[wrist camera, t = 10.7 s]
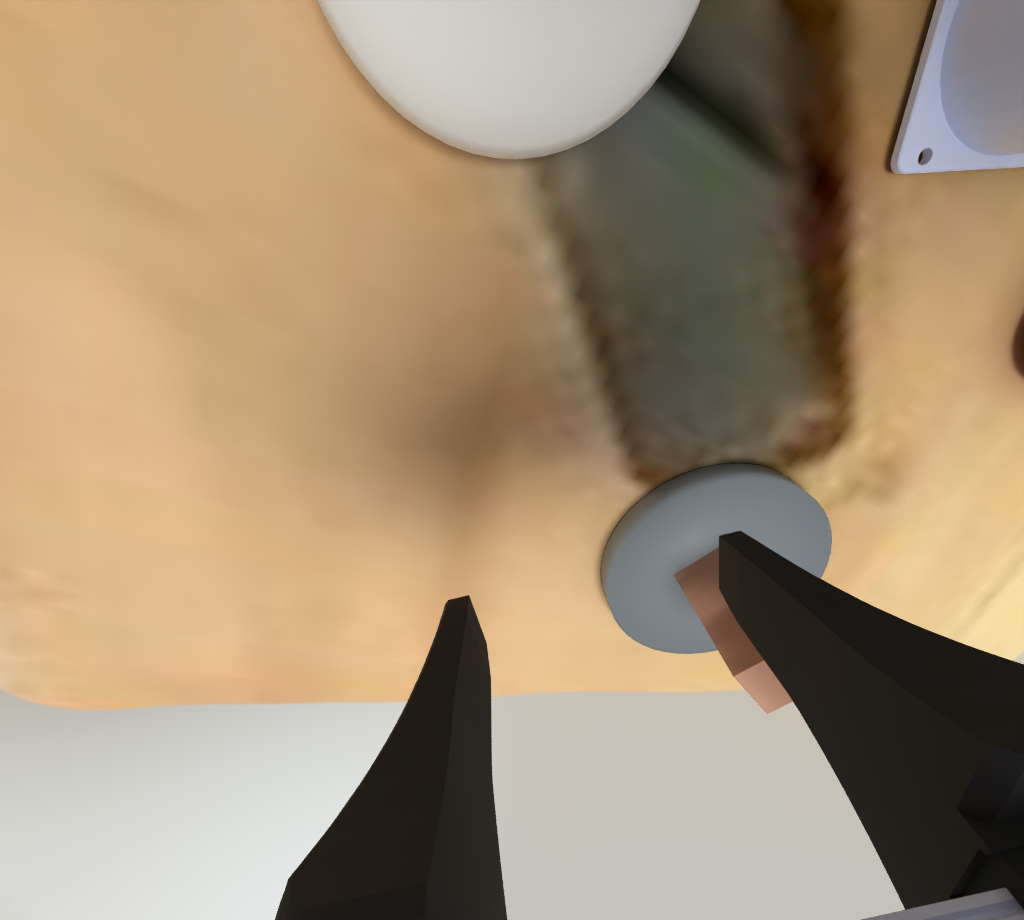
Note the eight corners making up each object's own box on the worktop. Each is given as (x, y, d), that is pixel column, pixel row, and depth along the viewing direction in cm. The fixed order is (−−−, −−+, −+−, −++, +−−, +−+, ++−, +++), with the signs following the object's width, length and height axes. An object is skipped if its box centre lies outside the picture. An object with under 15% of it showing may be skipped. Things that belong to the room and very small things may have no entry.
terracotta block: (735, 537, 23) (816, 632, 18) (762, 576, 25) (844, 675, 19) (673, 574, 24) (733, 676, 19) (703, 610, 26) (767, 714, 20)
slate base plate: (839, 452, 23) (862, 467, 22) (784, 621, 29) (799, 640, 28) (605, 475, 22) (614, 491, 21) (596, 643, 28) (603, 665, 27)
